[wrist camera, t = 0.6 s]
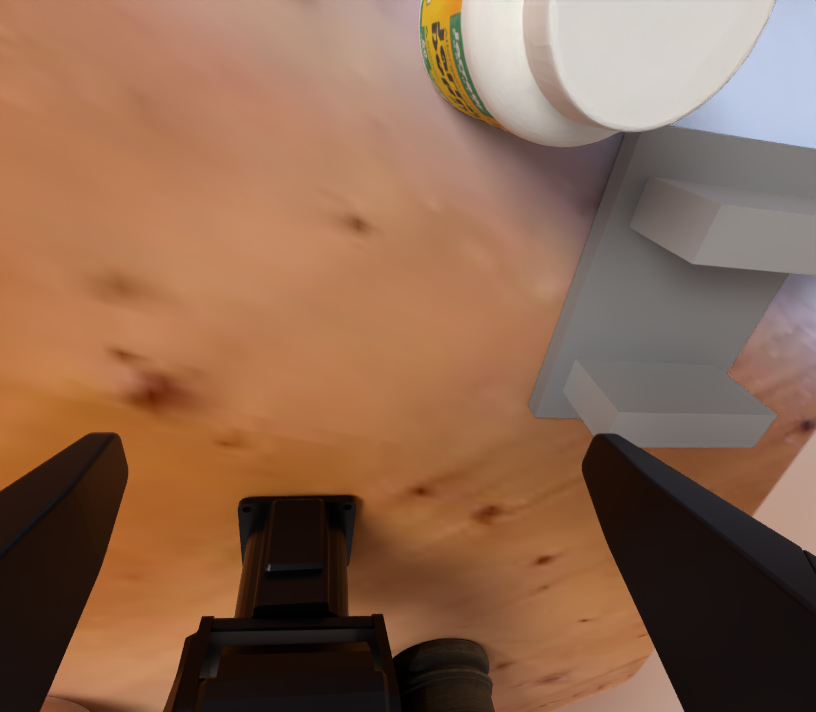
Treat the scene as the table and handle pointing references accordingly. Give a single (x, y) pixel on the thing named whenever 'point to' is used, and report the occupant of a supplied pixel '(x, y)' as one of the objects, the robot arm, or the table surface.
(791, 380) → the table surface
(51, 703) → the bowl
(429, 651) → the container
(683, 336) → the holder
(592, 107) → the supplement bottle
